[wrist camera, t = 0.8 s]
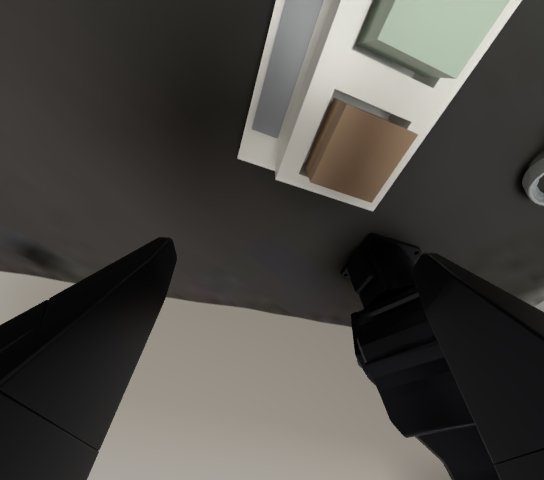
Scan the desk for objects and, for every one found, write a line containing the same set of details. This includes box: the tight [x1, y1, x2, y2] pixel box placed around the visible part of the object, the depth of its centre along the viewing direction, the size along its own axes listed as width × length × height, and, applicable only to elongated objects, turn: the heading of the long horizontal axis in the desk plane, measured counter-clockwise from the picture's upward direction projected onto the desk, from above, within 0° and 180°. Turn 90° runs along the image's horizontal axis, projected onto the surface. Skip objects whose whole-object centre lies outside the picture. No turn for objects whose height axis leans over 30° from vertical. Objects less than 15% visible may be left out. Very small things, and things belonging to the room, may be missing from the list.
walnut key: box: [305, 98, 418, 203], centre depth 14 cm, size 4×4×3 cm
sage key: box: [357, 0, 510, 79], centre depth 10 cm, size 4×4×3 cm
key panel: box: [237, 0, 522, 211], centre depth 14 cm, size 11×16×4 cm
